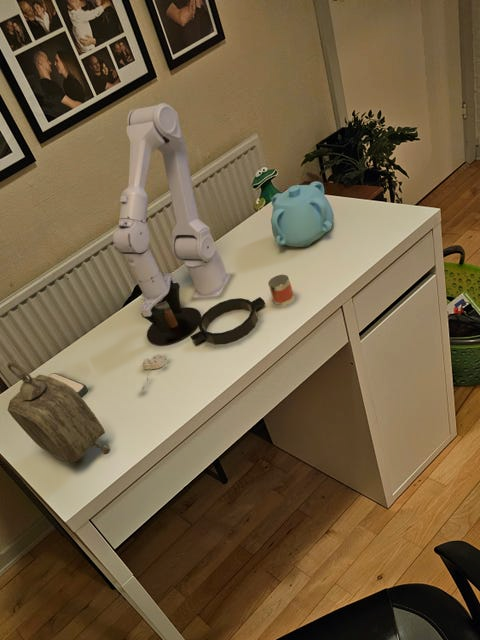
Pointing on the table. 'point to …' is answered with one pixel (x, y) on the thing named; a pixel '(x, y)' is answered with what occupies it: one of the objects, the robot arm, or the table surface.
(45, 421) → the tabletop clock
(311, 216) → the decorative pot
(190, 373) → the table surface
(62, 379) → the phone case
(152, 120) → the robot arm
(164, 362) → the game controller
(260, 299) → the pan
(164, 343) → the pan lid
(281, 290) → the can
